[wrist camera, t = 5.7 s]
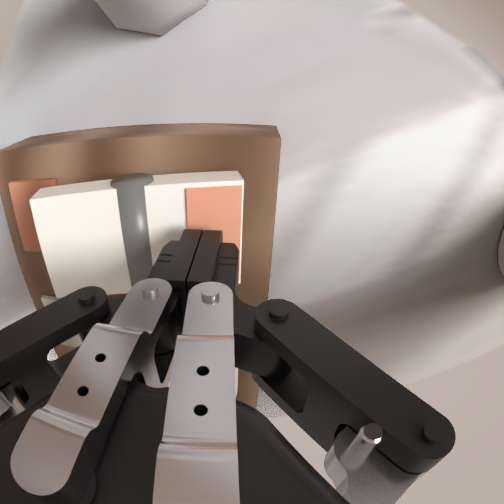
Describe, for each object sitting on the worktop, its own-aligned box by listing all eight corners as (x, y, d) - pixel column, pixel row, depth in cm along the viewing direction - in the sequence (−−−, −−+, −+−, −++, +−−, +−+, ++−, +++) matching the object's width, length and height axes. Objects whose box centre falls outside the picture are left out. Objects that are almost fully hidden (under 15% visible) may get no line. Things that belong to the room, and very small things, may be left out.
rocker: (236, 167, 14) (245, 179, 12) (233, 266, 17) (241, 287, 15) (41, 184, 12) (27, 199, 10) (64, 280, 15) (56, 302, 13)
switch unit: (276, 126, 17) (281, 140, 13) (254, 395, 29) (253, 433, 25) (31, 137, 17) (-10, 155, 13) (98, 378, 29) (86, 411, 25)
